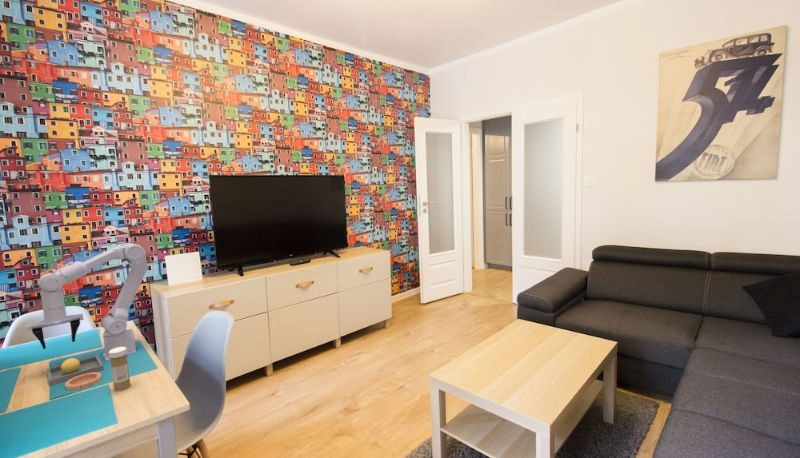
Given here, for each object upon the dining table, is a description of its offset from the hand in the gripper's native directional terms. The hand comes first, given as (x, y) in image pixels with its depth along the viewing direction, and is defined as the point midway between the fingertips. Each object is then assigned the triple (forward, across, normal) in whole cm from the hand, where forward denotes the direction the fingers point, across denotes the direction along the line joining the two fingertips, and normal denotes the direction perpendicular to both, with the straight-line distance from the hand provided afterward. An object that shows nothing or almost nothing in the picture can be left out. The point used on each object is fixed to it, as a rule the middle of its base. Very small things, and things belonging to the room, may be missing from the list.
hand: (59, 344), depth 131 cm
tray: (+10, +3, -6) cm, 12 cm away
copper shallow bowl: (+10, +4, -18) cm, 21 cm away
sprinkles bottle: (+10, +12, -32) cm, 36 cm away
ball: (+9, +2, -6) cm, 11 cm away
